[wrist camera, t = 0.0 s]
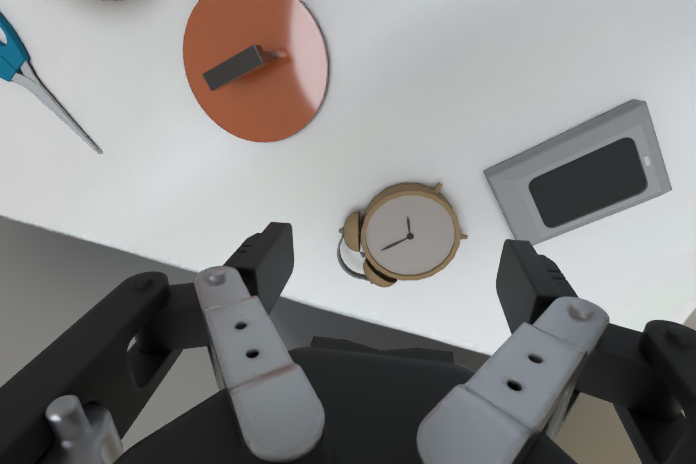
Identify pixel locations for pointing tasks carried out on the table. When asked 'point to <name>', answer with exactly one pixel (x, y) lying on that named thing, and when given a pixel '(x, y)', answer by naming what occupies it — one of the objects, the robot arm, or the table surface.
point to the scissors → (30, 77)
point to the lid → (256, 65)
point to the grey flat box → (581, 174)
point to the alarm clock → (403, 235)
